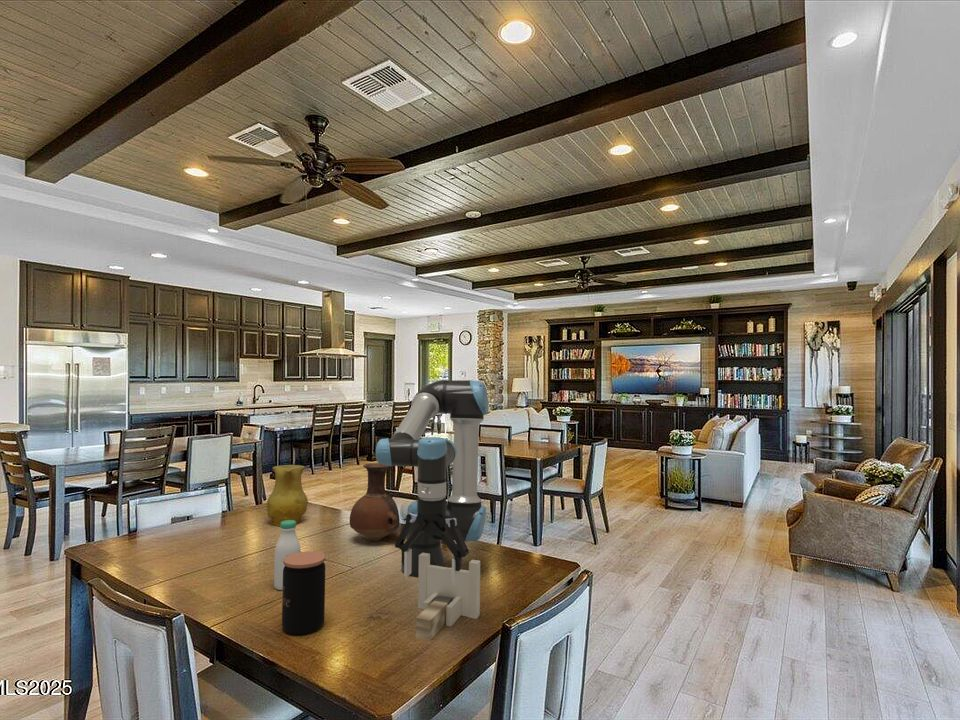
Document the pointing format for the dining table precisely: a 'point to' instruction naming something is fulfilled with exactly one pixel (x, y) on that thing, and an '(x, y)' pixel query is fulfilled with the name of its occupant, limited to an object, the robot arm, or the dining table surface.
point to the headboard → (450, 588)
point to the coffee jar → (303, 592)
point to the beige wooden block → (432, 618)
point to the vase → (375, 507)
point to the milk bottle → (284, 550)
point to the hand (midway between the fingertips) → (431, 579)
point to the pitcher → (287, 495)
